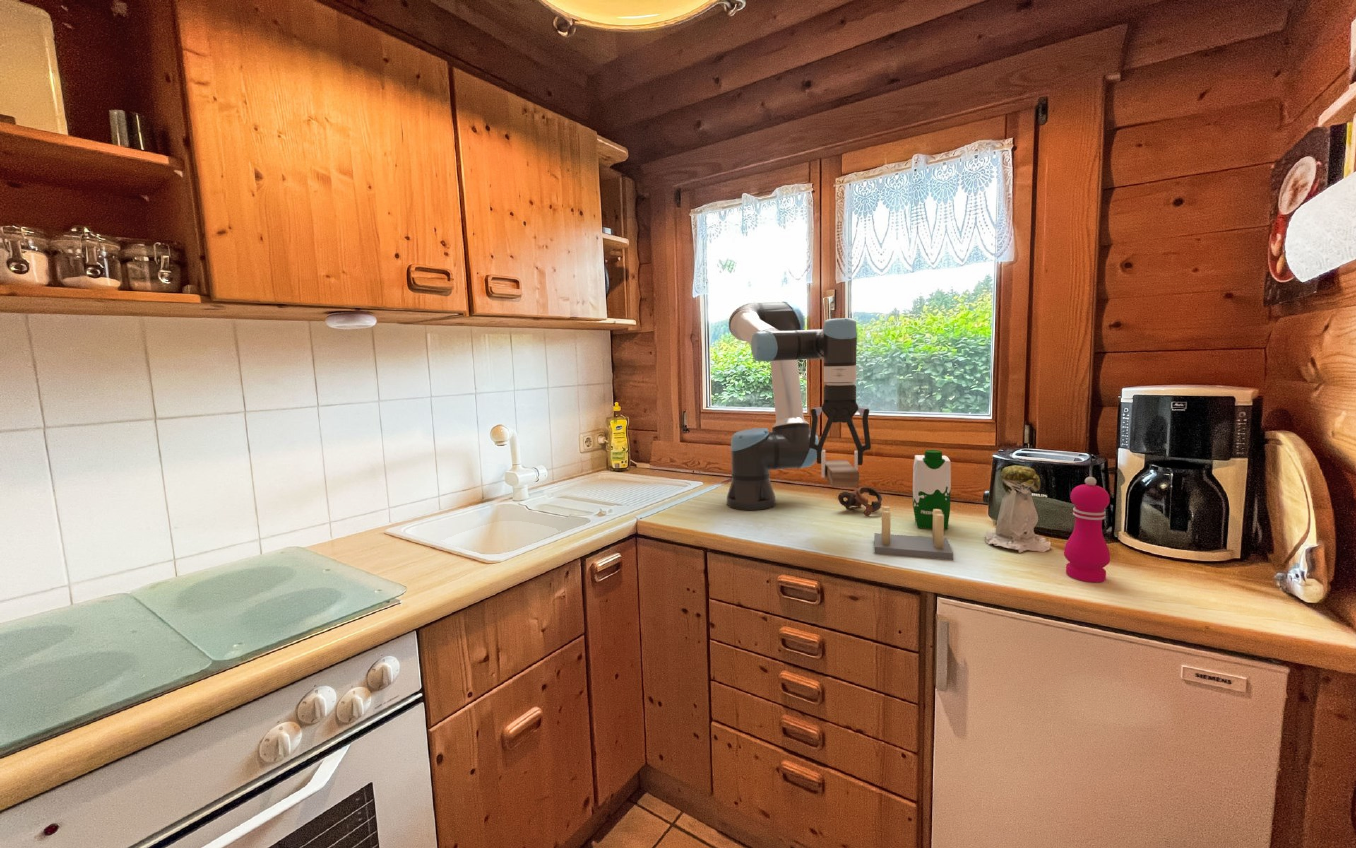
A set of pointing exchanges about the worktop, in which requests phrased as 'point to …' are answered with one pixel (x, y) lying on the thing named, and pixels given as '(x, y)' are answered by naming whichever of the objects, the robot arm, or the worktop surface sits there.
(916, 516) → the milk carton
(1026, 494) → the mushroom sculpture
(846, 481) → the brown rectangular block
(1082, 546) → the pepper mill
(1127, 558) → the worktop surface
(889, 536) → the peg stand
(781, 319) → the robot arm
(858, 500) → the twisted brown knot
